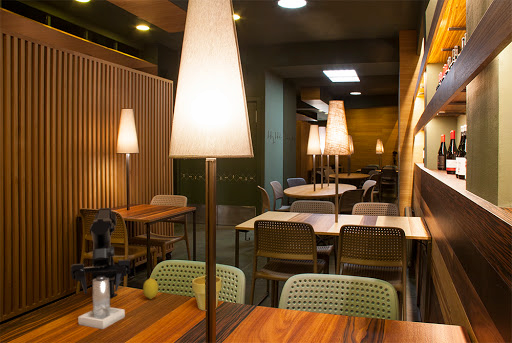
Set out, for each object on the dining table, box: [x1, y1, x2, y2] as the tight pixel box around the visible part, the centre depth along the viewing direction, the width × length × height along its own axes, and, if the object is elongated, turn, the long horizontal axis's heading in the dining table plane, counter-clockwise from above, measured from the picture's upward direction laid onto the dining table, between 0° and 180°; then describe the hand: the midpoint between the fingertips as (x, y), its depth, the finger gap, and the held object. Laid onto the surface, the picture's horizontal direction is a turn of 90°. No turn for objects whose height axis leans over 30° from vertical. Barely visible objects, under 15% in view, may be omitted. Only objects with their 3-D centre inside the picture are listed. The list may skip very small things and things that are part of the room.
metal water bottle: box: [91, 275, 111, 319], centre depth 132 cm, size 5×5×14 cm
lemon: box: [142, 277, 159, 300], centre depth 151 cm, size 6×6×8 cm
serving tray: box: [77, 306, 126, 330], centre depth 132 cm, size 10×10×2 cm
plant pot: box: [191, 275, 223, 311], centre depth 142 cm, size 10×10×10 cm
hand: (101, 292), depth 132 cm, fingers open, 9 cm apart
